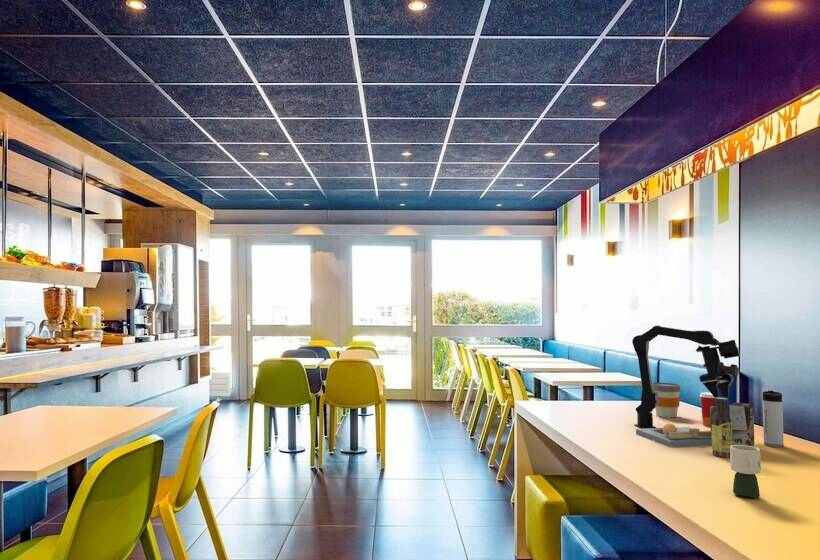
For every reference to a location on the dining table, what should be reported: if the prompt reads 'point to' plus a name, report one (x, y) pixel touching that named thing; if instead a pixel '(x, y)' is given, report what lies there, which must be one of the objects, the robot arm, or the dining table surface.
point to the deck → (660, 437)
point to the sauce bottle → (721, 429)
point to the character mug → (745, 469)
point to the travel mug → (773, 419)
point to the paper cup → (707, 407)
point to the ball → (669, 428)
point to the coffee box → (742, 424)
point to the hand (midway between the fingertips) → (722, 399)
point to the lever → (694, 430)
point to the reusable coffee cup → (667, 399)
